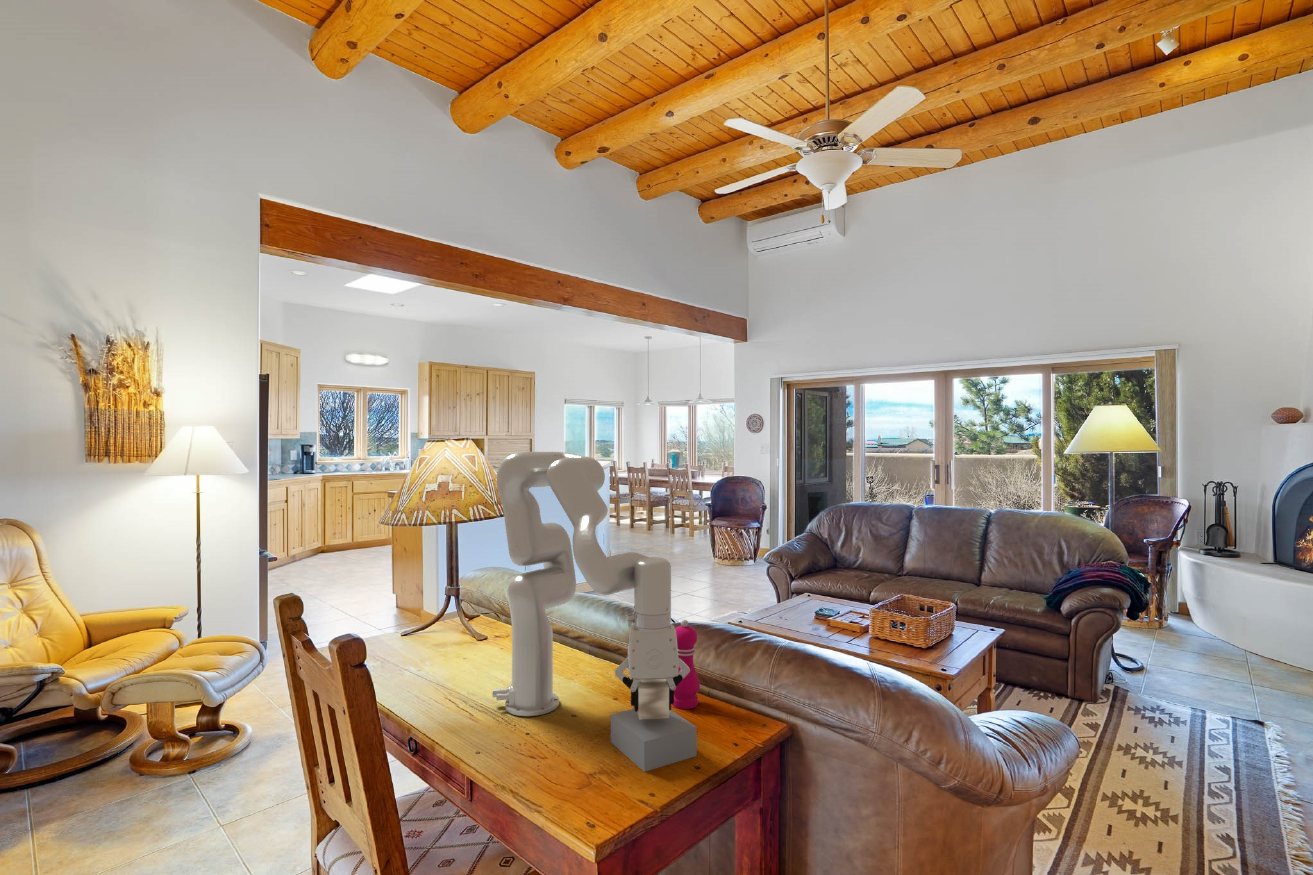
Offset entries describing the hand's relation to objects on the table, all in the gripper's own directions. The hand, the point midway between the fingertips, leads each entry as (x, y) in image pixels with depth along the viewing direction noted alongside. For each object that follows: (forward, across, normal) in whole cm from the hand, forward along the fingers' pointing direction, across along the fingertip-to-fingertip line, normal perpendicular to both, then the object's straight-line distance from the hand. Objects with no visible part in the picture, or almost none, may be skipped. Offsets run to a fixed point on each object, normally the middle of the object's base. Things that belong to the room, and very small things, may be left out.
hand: (652, 707), depth 128 cm
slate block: (+9, 0, 0) cm, 9 cm away
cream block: (+1, 0, 0) cm, 1 cm away
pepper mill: (+9, +10, +21) cm, 25 cm away
